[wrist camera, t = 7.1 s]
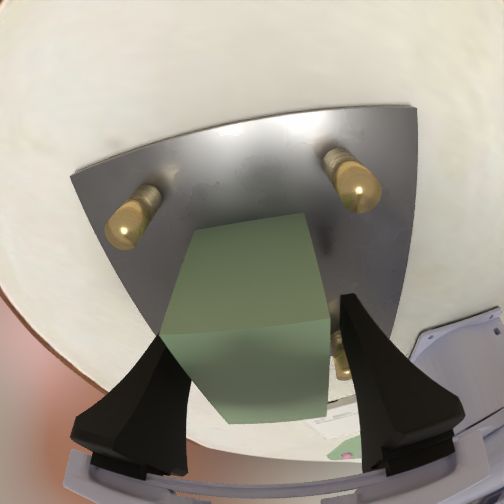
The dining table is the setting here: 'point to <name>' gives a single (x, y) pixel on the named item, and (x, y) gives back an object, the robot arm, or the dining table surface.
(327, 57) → the dining table surface
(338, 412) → the external hard drive
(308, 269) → the board block
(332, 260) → the chassis
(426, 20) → the dining table surface
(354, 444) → the plant
